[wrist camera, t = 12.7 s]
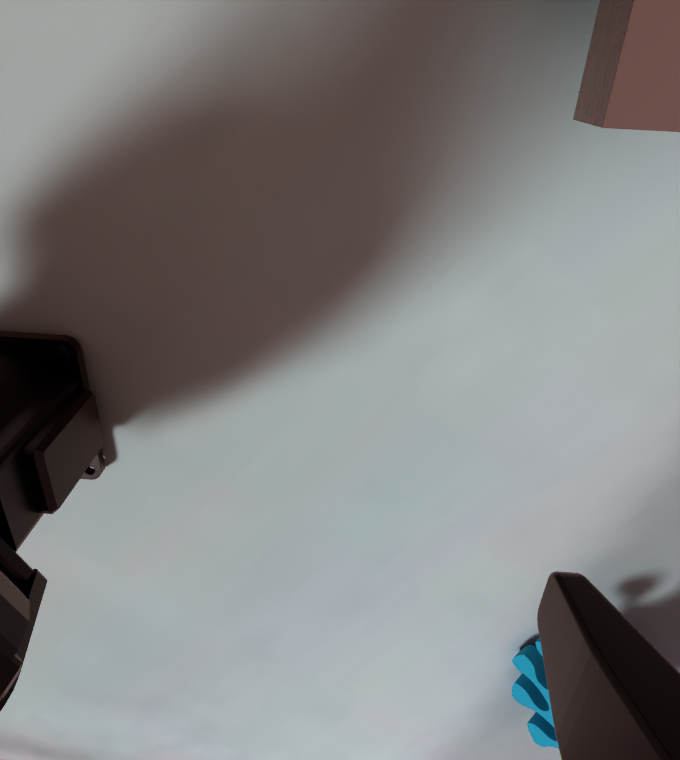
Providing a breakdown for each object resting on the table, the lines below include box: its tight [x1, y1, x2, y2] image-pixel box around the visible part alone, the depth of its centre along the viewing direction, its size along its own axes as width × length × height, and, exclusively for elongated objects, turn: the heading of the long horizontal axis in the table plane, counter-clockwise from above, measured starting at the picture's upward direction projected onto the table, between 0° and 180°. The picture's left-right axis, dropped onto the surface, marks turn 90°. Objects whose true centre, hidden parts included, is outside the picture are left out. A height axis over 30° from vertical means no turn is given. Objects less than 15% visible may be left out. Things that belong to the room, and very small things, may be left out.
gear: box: [512, 637, 562, 760], centre depth 27 cm, size 11×6×10 cm
